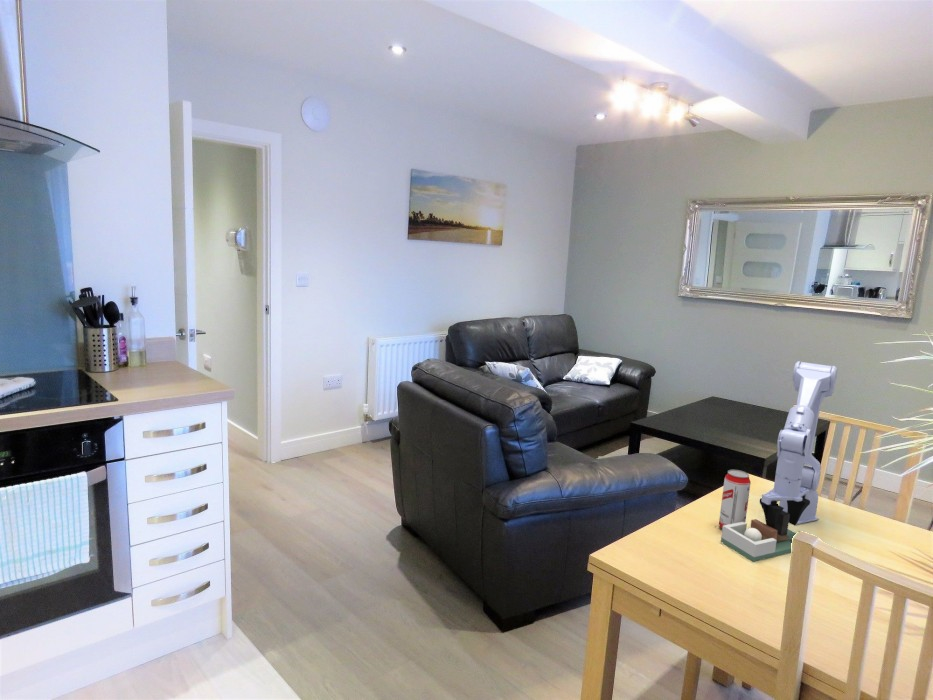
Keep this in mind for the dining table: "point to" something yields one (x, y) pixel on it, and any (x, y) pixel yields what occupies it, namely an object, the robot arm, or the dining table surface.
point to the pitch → (754, 543)
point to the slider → (770, 532)
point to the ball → (753, 534)
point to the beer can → (734, 498)
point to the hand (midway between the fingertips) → (781, 525)
